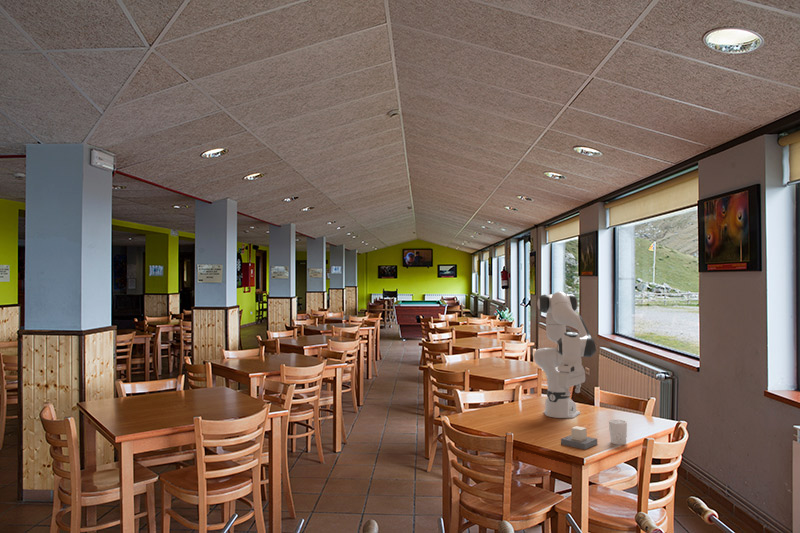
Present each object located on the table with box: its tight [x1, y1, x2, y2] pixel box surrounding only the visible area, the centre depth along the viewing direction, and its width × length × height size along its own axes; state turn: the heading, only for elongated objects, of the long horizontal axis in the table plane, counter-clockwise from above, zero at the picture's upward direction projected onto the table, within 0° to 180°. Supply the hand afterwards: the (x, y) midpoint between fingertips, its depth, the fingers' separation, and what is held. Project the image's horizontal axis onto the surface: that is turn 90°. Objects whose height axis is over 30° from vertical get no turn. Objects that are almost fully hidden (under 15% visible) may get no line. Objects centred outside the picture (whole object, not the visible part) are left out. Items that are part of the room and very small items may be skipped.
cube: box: [570, 425, 588, 441], centre depth 243 cm, size 5×5×5 cm
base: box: [560, 434, 598, 450], centre depth 242 cm, size 12×12×2 cm
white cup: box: [608, 419, 628, 446], centre depth 244 cm, size 8×8×10 cm
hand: (572, 394), depth 251 cm, fingers open, 8 cm apart
